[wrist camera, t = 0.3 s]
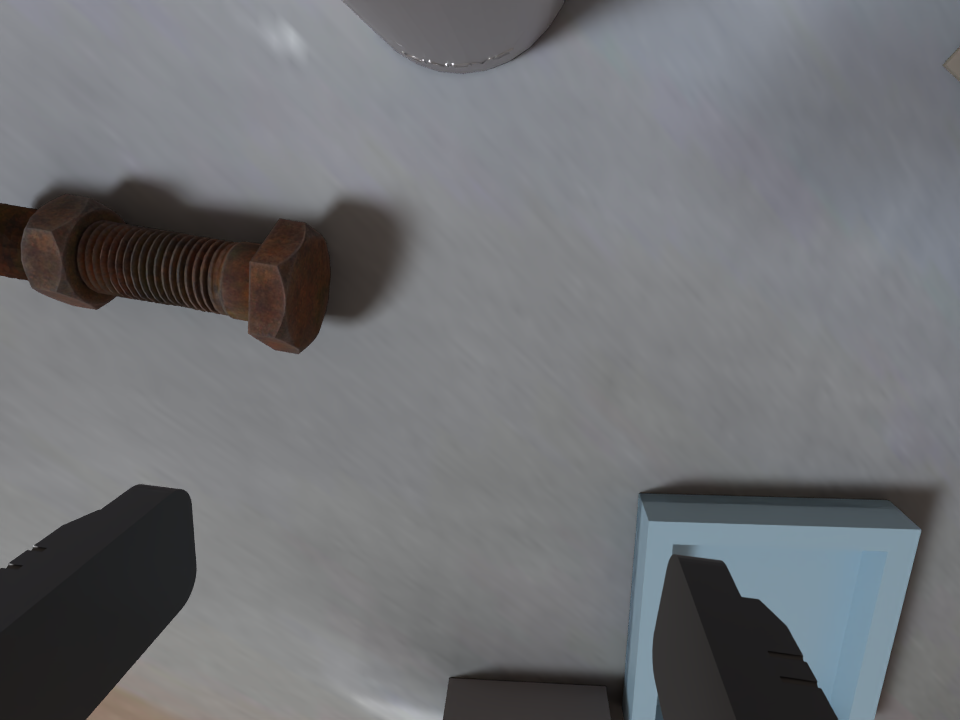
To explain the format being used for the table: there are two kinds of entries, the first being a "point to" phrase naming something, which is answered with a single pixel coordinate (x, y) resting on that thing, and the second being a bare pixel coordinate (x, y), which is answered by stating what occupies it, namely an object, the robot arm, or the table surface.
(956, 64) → the skyscraper
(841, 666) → the tray
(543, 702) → the fuse holder
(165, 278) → the bolt
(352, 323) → the table surface
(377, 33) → the robot arm
